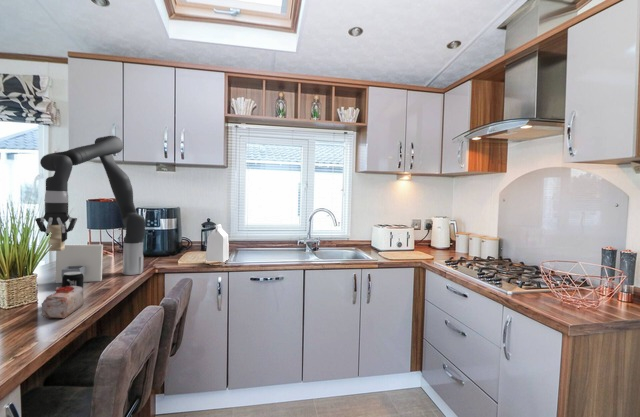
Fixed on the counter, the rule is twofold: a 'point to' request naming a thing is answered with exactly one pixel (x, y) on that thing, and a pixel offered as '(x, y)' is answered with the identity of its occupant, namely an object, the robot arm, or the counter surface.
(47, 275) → the counter surface
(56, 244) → the rail post
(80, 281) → the beverage can
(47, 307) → the food item
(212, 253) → the milk
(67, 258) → the white upright panel
